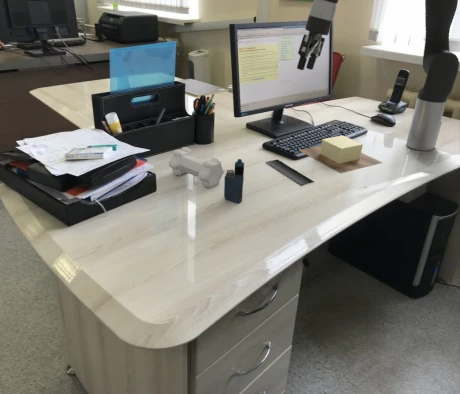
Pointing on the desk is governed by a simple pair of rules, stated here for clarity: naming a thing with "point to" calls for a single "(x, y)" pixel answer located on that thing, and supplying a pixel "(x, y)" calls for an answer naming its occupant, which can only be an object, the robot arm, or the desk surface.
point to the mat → (289, 172)
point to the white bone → (196, 167)
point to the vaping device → (234, 183)
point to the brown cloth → (341, 167)
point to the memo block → (341, 149)
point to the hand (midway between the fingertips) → (304, 69)
